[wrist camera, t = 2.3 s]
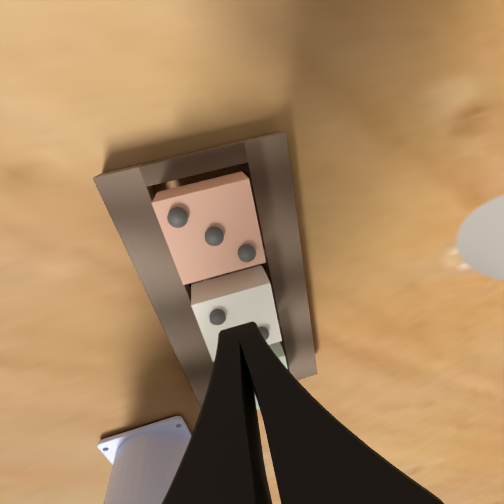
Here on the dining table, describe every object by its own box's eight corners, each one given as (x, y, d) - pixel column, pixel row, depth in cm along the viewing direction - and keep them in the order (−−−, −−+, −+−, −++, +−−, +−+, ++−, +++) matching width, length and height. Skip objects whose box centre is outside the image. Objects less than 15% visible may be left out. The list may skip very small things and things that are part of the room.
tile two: (273, 318, 21) (283, 343, 19) (210, 337, 21) (213, 365, 18) (261, 264, 19) (271, 285, 16) (191, 284, 18) (190, 308, 16)
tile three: (257, 246, 18) (267, 264, 16) (184, 265, 18) (183, 288, 15) (241, 171, 16) (250, 179, 13) (157, 192, 15) (150, 204, 13)
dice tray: (310, 360, 26) (317, 373, 25) (201, 394, 26) (202, 410, 24) (278, 131, 17) (286, 132, 15) (101, 173, 16) (92, 178, 15)
